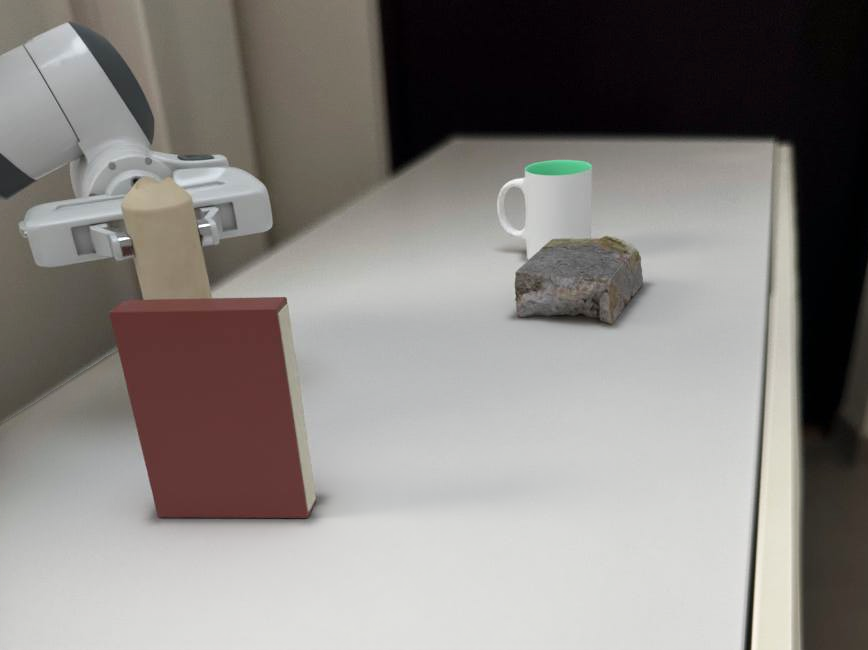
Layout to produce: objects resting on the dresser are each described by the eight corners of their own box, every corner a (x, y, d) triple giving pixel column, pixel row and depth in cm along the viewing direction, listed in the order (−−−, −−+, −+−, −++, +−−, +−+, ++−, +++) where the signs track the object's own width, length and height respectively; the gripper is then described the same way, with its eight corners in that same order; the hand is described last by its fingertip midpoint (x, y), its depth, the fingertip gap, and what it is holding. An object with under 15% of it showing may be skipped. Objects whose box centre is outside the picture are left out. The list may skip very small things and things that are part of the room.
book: (157, 517, 82) (108, 311, 73) (170, 500, 85) (124, 299, 76) (308, 518, 81) (277, 308, 72) (317, 501, 83) (288, 296, 75)
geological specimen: (510, 274, 111) (555, 227, 122) (515, 330, 115) (557, 279, 125) (608, 278, 107) (645, 229, 118) (610, 335, 111) (645, 283, 122)
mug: (488, 262, 132) (484, 173, 126) (508, 244, 138) (505, 158, 132) (581, 267, 128) (582, 176, 122) (597, 248, 134) (599, 160, 128)
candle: (134, 308, 88) (103, 182, 82) (192, 291, 91) (166, 168, 85) (166, 323, 85) (135, 193, 79) (225, 305, 88) (200, 178, 82)
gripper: (5, 185, 89) (20, 222, 79) (240, 151, 96) (282, 181, 85) (27, 260, 93) (44, 305, 83) (252, 223, 99) (294, 260, 89)
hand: (167, 242), depth 84 cm, fingers closed on candle, 5 cm apart
